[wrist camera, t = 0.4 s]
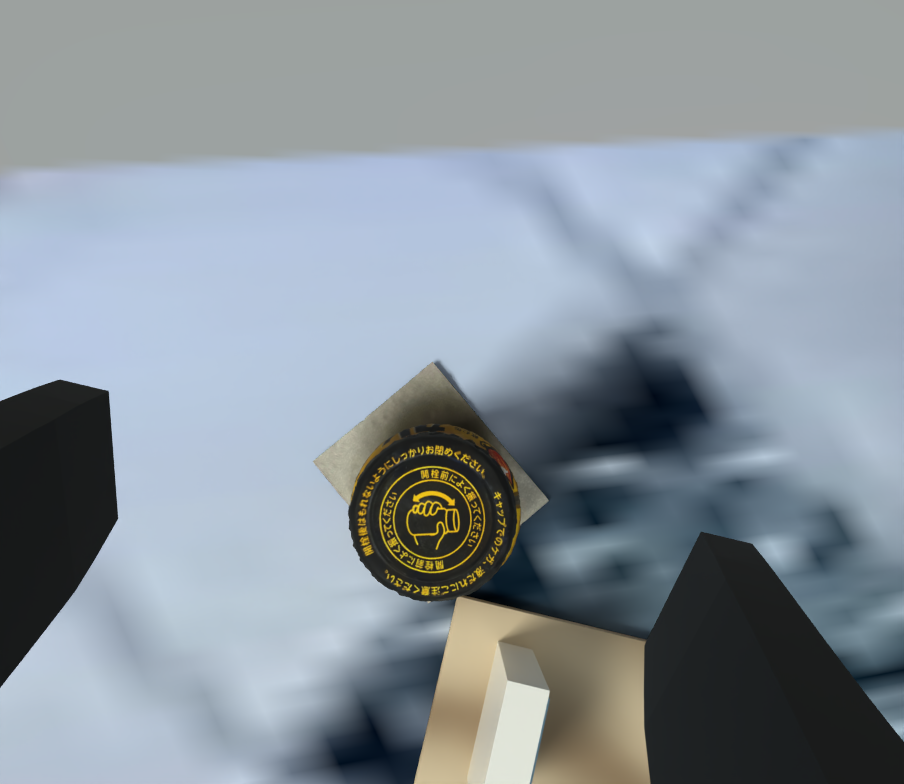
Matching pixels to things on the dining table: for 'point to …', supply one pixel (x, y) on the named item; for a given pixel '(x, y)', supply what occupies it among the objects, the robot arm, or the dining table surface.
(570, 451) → the dining table surface
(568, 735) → the mat
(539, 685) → the block
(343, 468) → the condiment
